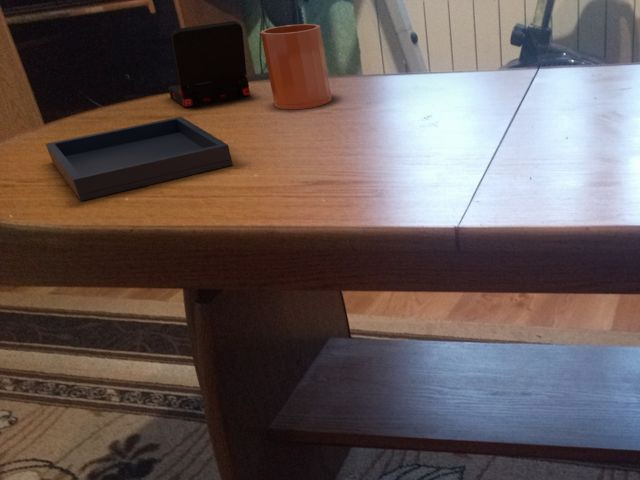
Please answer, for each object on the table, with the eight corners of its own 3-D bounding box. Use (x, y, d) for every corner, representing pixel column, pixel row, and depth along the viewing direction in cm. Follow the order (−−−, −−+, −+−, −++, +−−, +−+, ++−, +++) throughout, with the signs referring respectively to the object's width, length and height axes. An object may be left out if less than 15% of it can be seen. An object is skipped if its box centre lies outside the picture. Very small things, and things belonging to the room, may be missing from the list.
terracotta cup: (266, 103, 98) (251, 30, 93) (317, 93, 101) (305, 22, 96) (288, 112, 92) (273, 36, 88) (341, 101, 96) (329, 27, 91)
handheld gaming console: (233, 86, 109) (216, 13, 104) (259, 99, 100) (243, 20, 95) (168, 98, 105) (148, 22, 100) (190, 112, 96) (169, 30, 91)
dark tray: (52, 162, 80) (45, 143, 79) (185, 134, 86) (181, 116, 85) (81, 201, 68) (73, 179, 67) (233, 165, 74) (228, 144, 73)
